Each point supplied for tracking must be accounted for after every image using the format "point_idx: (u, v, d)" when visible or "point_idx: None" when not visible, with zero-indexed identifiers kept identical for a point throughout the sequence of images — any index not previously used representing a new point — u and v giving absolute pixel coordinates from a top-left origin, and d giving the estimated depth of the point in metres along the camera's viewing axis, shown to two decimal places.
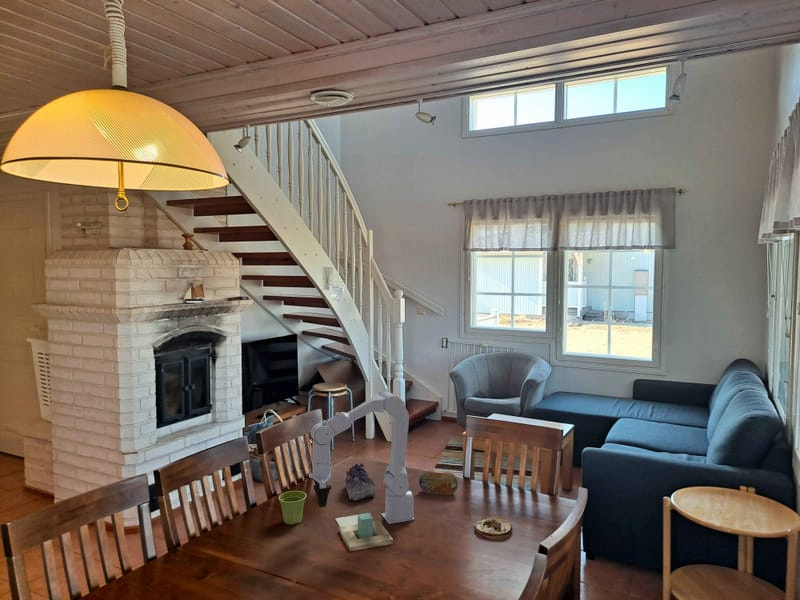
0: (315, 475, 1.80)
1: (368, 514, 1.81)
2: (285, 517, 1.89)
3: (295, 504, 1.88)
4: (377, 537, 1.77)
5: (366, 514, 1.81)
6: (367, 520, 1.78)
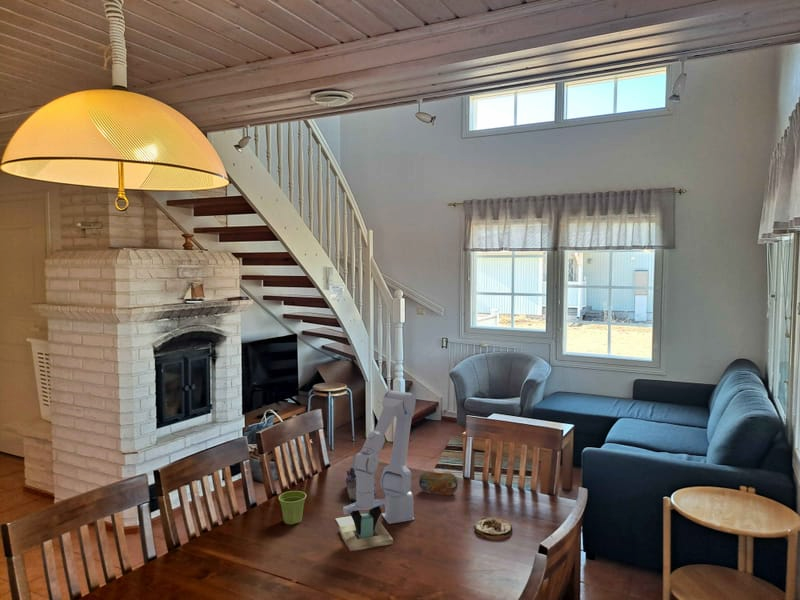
0: None
1: (368, 514, 1.81)
2: (285, 517, 1.89)
3: (295, 504, 1.88)
4: (377, 537, 1.77)
5: (366, 514, 1.81)
6: (367, 520, 1.78)
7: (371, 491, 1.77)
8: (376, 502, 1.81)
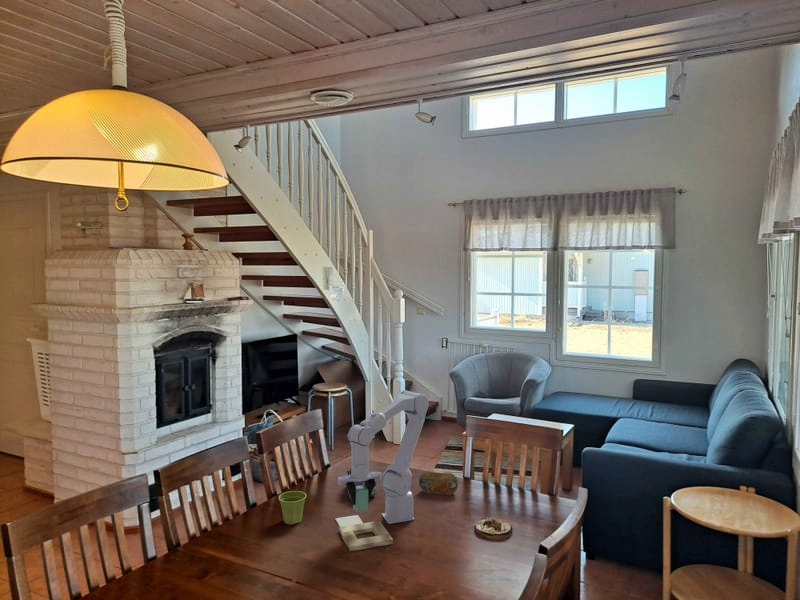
0: None
1: (363, 486, 1.83)
2: (285, 517, 1.89)
3: (295, 504, 1.88)
4: (377, 537, 1.77)
5: (361, 486, 1.83)
6: (362, 492, 1.80)
7: (364, 463, 1.80)
8: (371, 474, 1.83)
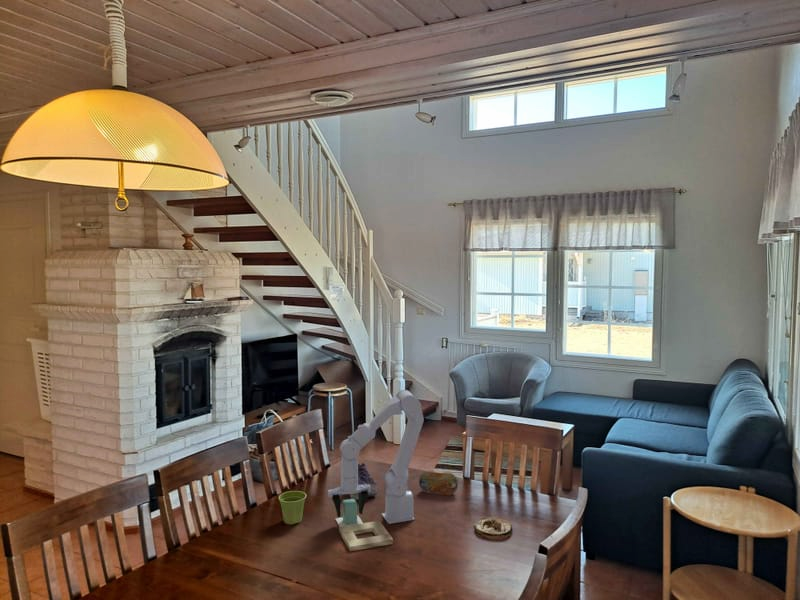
0: None
1: (352, 500, 1.91)
2: (285, 517, 1.89)
3: (295, 504, 1.88)
4: (377, 537, 1.77)
5: (351, 500, 1.91)
6: (351, 505, 1.88)
7: (349, 477, 1.87)
8: (360, 487, 1.91)
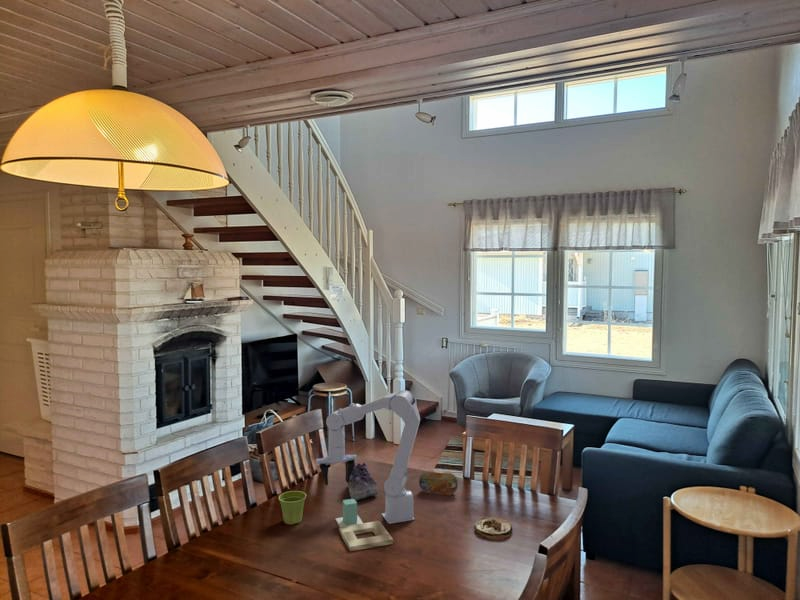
0: None
1: (352, 500, 1.91)
2: (285, 517, 1.89)
3: (295, 504, 1.88)
4: (377, 537, 1.77)
5: (351, 500, 1.91)
6: (351, 505, 1.88)
7: (332, 446, 1.95)
8: (347, 457, 1.99)
